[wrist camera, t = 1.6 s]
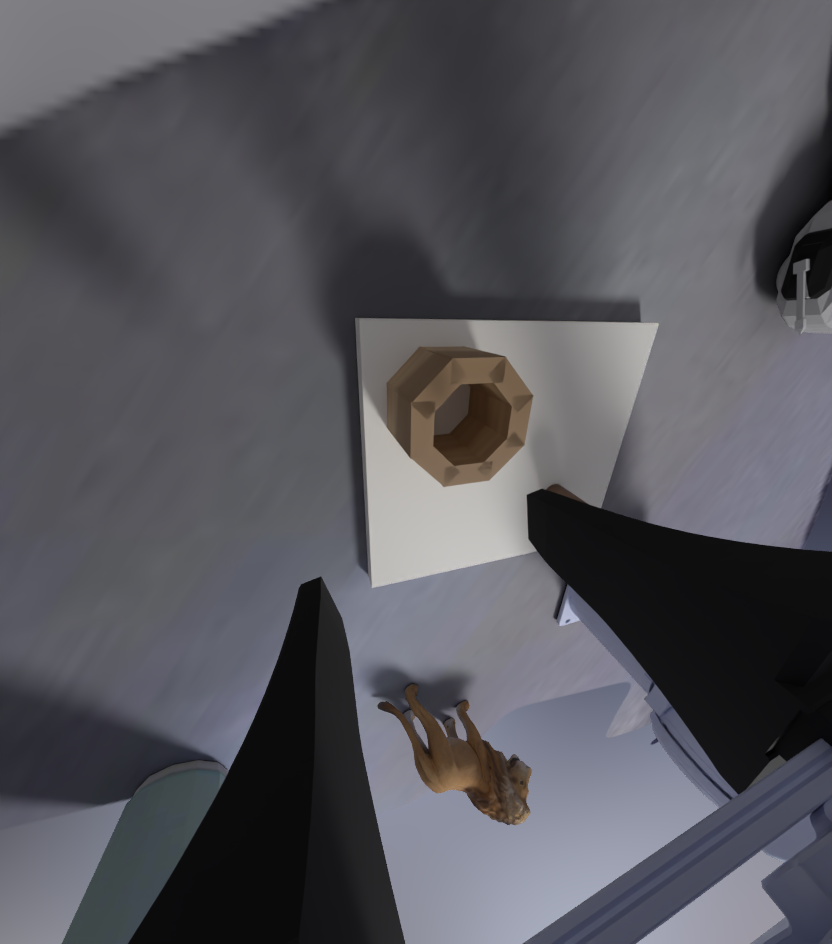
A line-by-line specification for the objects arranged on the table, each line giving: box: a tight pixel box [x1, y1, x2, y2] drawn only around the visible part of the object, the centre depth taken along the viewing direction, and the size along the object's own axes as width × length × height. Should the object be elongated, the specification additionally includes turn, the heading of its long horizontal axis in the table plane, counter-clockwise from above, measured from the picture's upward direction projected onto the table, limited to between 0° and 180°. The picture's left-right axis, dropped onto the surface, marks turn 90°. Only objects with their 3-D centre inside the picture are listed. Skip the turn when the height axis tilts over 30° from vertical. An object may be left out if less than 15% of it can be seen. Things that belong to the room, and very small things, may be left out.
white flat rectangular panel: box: [355, 318, 659, 588], centre depth 22 cm, size 18×16×1 cm
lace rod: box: [546, 484, 588, 504], centre depth 21 cm, size 2×2×6 cm
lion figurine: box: [378, 684, 531, 825], centre depth 29 cm, size 15×5×9 cm, turn 52°
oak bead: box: [386, 346, 533, 487], centre depth 16 cm, size 6×6×4 cm
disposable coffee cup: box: [62, 760, 228, 944], centre depth 20 cm, size 11×11×15 cm
